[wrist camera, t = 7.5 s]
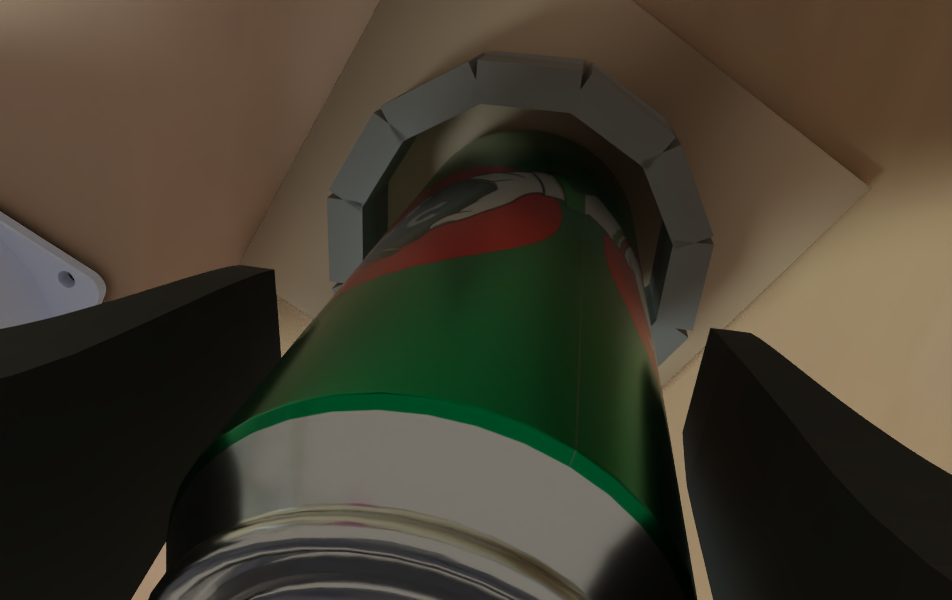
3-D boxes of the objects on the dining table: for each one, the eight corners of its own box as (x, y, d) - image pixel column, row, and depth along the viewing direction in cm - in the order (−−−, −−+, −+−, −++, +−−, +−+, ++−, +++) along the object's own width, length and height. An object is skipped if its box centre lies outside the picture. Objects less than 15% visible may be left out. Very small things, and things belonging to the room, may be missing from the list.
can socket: (245, 261, 18) (196, 300, 16) (459, -135, 13) (432, -160, 11) (562, 471, 19) (558, 533, 17) (862, 182, 15) (911, 217, 12)
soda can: (389, 253, 17) (27, 731, 6) (493, 79, 14) (208, 350, 4) (553, 355, 17) (486, 962, 7) (678, 203, 15) (891, 753, 4)
